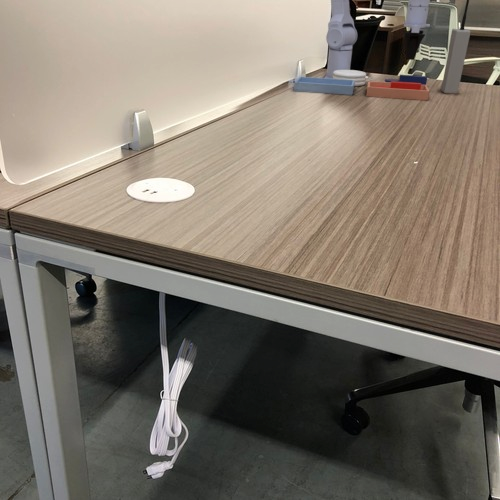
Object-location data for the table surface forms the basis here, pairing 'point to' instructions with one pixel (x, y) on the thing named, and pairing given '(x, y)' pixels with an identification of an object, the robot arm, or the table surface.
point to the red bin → (396, 91)
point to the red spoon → (403, 85)
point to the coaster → (351, 76)
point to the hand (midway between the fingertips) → (409, 58)
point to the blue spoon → (410, 79)
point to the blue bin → (324, 85)
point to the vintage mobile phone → (456, 58)
